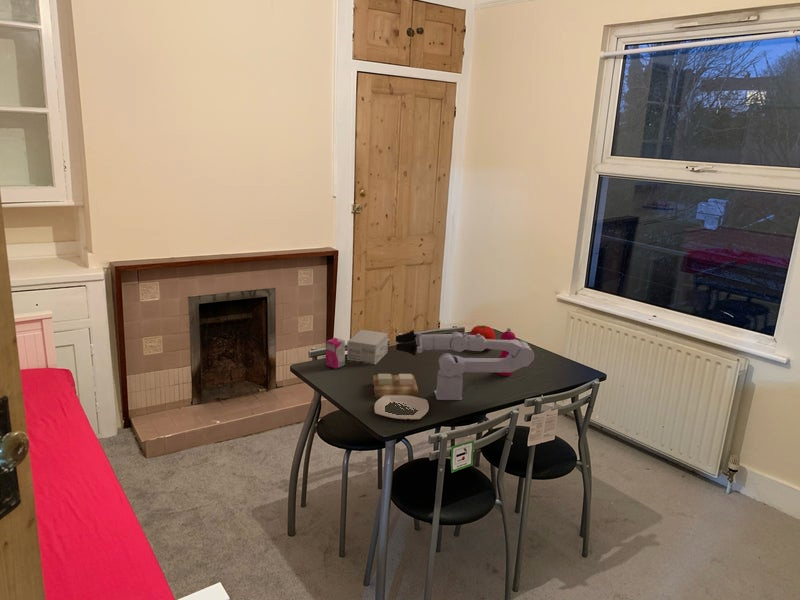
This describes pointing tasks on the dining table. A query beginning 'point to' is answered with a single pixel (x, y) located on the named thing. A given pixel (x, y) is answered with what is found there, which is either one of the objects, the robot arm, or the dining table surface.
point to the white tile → (405, 379)
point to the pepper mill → (506, 336)
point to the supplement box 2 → (367, 346)
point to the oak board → (394, 387)
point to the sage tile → (384, 379)
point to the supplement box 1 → (335, 353)
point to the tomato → (483, 332)
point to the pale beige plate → (408, 400)
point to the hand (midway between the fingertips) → (396, 342)
